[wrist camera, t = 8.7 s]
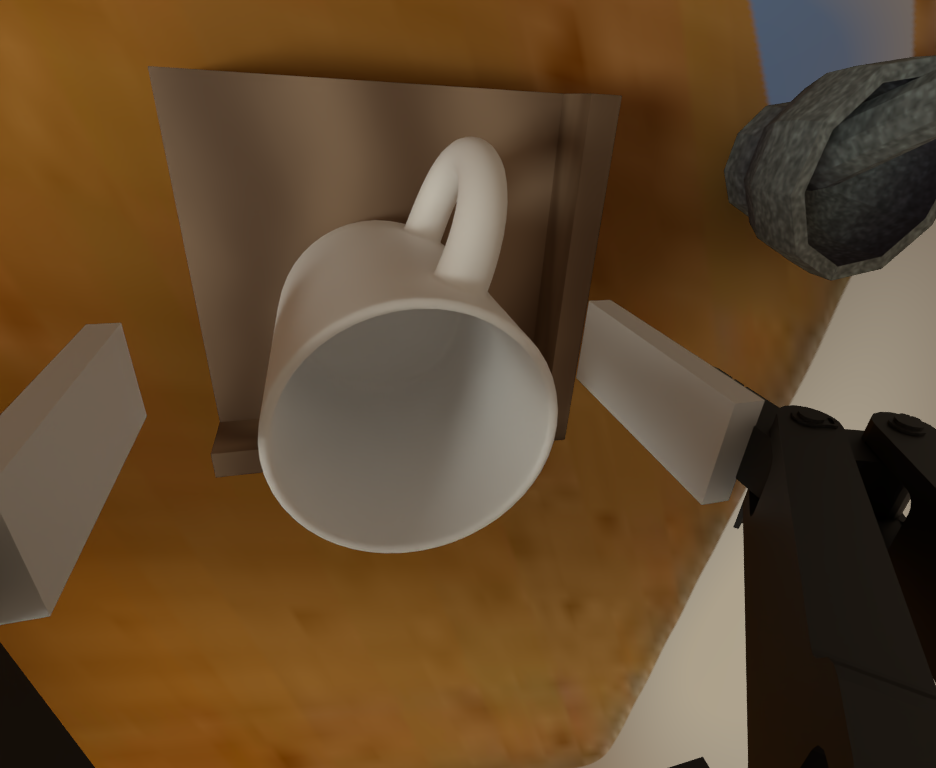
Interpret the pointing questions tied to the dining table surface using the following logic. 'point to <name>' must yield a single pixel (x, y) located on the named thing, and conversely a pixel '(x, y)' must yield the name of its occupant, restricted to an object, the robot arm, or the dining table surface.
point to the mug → (406, 374)
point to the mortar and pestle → (842, 168)
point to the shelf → (368, 204)
